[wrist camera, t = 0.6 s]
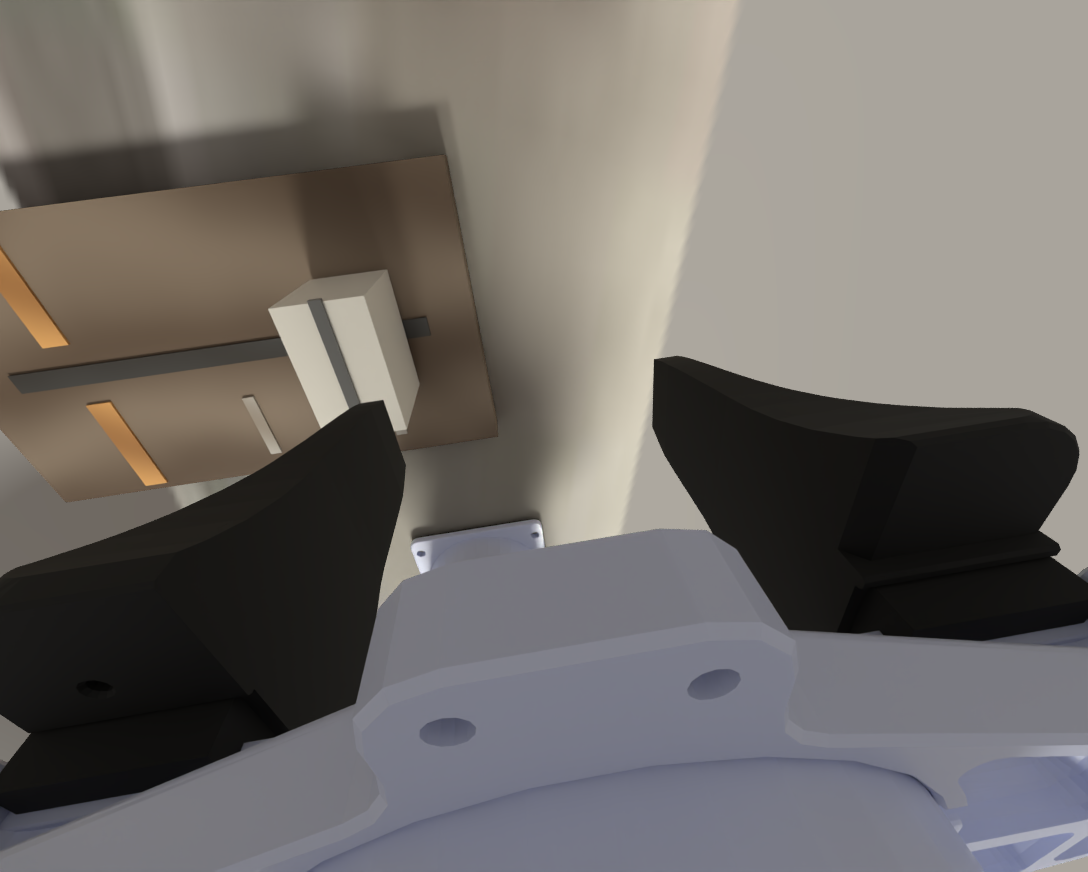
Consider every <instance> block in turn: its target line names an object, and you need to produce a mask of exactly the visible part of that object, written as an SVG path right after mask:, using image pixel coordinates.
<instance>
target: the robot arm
mask: <svg viewBox="0 0 1088 872" xmlns="http://www.w3.org/2000/svg"><path fill="white" fill-rule="evenodd" d="M652 427H653V429H654V432H655V434H656V437H657V439H658V442H659V444H660V446H661V448H662V451H663V453H664V455H665V457H666V458H667V460H668V462H669V463H670V465H671V467H672V468H673V470H674V471H675V473H676V474H677V476H678V478H679V479H680V481H681V482H682V484H683V486H684V487H685V489H686V490H687V492H688V493H689V495H690V496H691V498H692V499H693V501H694V503H695V504H696V505H697V507H698V509H699V511H700V512H701V514H702V515H703V517H704V519H705V520H706V522H707V524H708V525H709V528H710V529H711V531H712V533H713V534H712V533H710V532H708V531H707V530H681V529H654V530H648V531H642V532H636V533H630V534H623V535H617V536H611V537H605V538H599V539H593V540H587V541H581V542H575V543H569V544H563V545H557V546H550V547H545V544H544V538H543V531H542V524H541V522H540V521H539V520H536V519H532V520H526V521H520V522H513V523H507V524H501V525H495V526H489V527H482V528H476V529H470V530H464V531H457V532H451V533H445V534H439V535H433V536H426V537H420V538H416V539H414V540H413V541H412V542H411V550H412V553H413V556H414V558H415V561H416V564H417V566H418V569H419V571H420V574H419V575H417V576H414V577H411V578H408V579H406V580H403V581H402V582H401V583H400V585H399V586H398V587H397V588H396V589H395V590H394V591H393V593H392V594H391V595H390V596H389V597H388V598H387V599H386V601H385V602H384V603H383V604H382V605H381V606H380V608H379V609H378V612H377V608H378V601H379V593H380V586H381V581H382V576H383V571H384V567H385V563H386V559H387V555H388V552H389V548H390V544H391V540H392V537H393V533H394V529H395V525H396V522H397V518H398V514H399V510H400V506H401V502H402V498H403V490H404V480H405V467H406V465H405V462H404V459H403V456H402V453H401V450H400V447H399V444H398V441H397V438H396V435H395V432H394V429H393V426H392V424H391V421H390V418H389V415H388V412H387V409H386V406H385V403H384V400H379V401H372V402H366V403H359V404H357V405H355V406H353V407H351V408H350V409H348V410H347V411H345V412H344V413H342V414H341V415H339V416H338V417H336V418H335V419H334V420H332V421H331V422H329V423H328V424H327V425H325V426H324V427H323V428H321V429H320V430H318V431H317V432H316V433H314V434H313V435H311V436H310V437H309V438H307V439H306V440H304V441H303V442H301V443H300V444H298V445H297V446H295V447H294V448H292V449H291V450H289V451H288V452H286V453H285V454H283V455H282V456H280V457H279V458H277V459H276V460H274V461H273V462H271V463H270V464H268V465H266V466H265V467H263V468H261V469H260V470H258V471H256V472H255V473H253V474H251V475H249V476H247V477H246V478H244V479H242V480H240V481H238V482H236V483H235V484H233V485H231V486H229V487H227V488H225V489H223V490H221V491H219V492H217V493H215V494H212V495H210V496H208V497H206V498H204V499H202V500H200V501H198V502H195V503H193V504H191V505H189V506H187V507H185V508H183V509H180V510H178V511H176V512H174V513H171V514H169V515H166V516H164V517H161V518H159V519H157V520H154V521H152V522H149V523H147V524H144V525H142V526H139V527H136V528H134V529H131V530H128V531H126V532H123V533H121V534H118V535H115V536H112V537H109V538H107V539H104V540H101V541H98V542H95V543H92V544H89V545H86V546H83V547H80V548H77V549H74V550H71V551H68V552H65V553H61V554H58V555H55V556H52V557H49V558H46V559H43V560H40V561H37V562H34V563H30V564H27V565H24V566H20V567H17V568H15V569H13V570H11V571H9V572H7V573H6V574H4V575H3V576H2V577H1V578H0V714H1V715H2V716H4V717H5V718H7V719H8V720H9V721H11V722H12V723H14V724H15V725H17V726H18V727H20V728H22V729H23V730H25V731H26V732H28V733H31V734H30V735H29V737H28V738H27V739H26V740H25V742H24V743H23V744H22V745H21V747H20V748H19V749H18V751H17V752H16V753H15V754H14V756H13V757H12V758H11V759H10V761H9V762H5V761H3V760H0V872H1032V871H1036V870H1040V869H1043V868H1047V867H1050V866H1054V865H1058V864H1061V863H1065V862H1069V861H1072V860H1076V859H1080V858H1083V857H1087V856H1088V567H1087V568H1085V569H1083V570H1082V571H1081V572H1080V573H1079V574H1078V575H1076V574H1074V573H1073V572H1072V571H1070V570H1069V569H1067V568H1066V567H1064V566H1063V565H1061V564H1060V563H1059V562H1057V561H1056V560H1055V559H1053V558H1052V557H1050V556H1056V555H1057V554H1058V553H1059V551H1060V550H1061V549H1060V546H1059V544H1058V543H1057V542H1055V541H1054V540H1052V539H1051V538H1049V537H1048V536H1046V535H1045V534H1043V533H1042V532H1040V531H1039V529H1040V527H1041V526H1042V524H1043V523H1044V521H1045V520H1046V518H1047V517H1048V515H1049V514H1050V512H1051V511H1052V509H1053V508H1054V506H1055V505H1056V503H1057V502H1058V500H1059V499H1060V497H1061V496H1062V494H1063V493H1064V491H1065V490H1066V488H1067V487H1068V485H1069V483H1070V481H1071V479H1072V477H1073V475H1074V473H1075V472H1076V469H1077V464H1078V458H1079V447H1078V444H1077V440H1076V436H1075V435H1074V434H1073V433H1072V432H1071V431H1070V430H1068V429H1067V428H1066V427H1065V426H1063V425H1061V424H1059V423H1057V422H1054V421H1052V420H1050V419H1048V418H1045V417H1043V416H1041V415H1039V414H1037V413H1035V412H1033V411H1030V410H1026V409H1021V408H937V407H920V406H919V407H918V406H901V405H890V404H877V403H869V402H861V401H854V400H846V399H838V398H832V397H825V396H820V395H815V394H810V393H805V392H800V391H795V390H791V389H786V388H783V387H779V386H775V385H771V384H768V383H764V382H760V381H757V380H754V379H751V378H747V377H744V376H741V375H738V374H735V373H732V372H729V371H726V370H723V369H720V368H717V367H714V366H711V365H709V364H705V363H702V362H699V361H696V360H693V359H690V358H686V357H681V356H673V357H667V358H660V359H654V381H653V422H652ZM534 532H537V533H536V534H532V533H534ZM420 551H424V552H420ZM376 615H377V616H376Z"/></svg>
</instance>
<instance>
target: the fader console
mask: <svg viewBox="0 0 1088 872" xmlns="http://www.w3.org/2000/svg"><path fill="white" fill-rule="evenodd" d="M385 269H387V271H388V274H389V278H390V281H391V285H392V288H393V292H394V295H395V299H396V302H397V306H398V309H399V313H400V316H401V320H402V323H403V327H404V330H405V334H406V338H407V341H408V345H409V348H410V352H411V355H412V359H413V362H414V366H415V369H416V373H417V376H418V380H419V383H420V385H419V388H418V392H417V395H416V399H415V402H414V406H413V410H412V413H411V417H410V420H409V424H408V427H407V429H406V430H399V431H394V432H395V435H396V438H397V441H398V444H399V447H400V450H401V451H406V450H413V449H419V448H426V447H432V446H439V445H446V444H452V443H459V442H465V441H472V440H478V439H485V438H491V437H498V426H497V418H496V412H495V407H494V402H493V397H492V391H491V386H490V381H489V376H488V370H487V365H486V360H485V355H484V350H483V344H482V339H481V334H480V329H479V323H478V318H477V313H476V308H475V302H474V297H473V292H472V287H471V281H470V276H469V271H468V266H467V261H466V255H465V250H464V245H463V240H462V234H461V229H460V224H459V219H458V213H457V208H456V203H455V198H454V193H453V187H452V182H451V177H450V172H449V166H448V161H447V156H446V155H436V156H428V157H421V158H413V159H405V160H397V161H389V162H381V163H373V164H366V165H358V166H350V167H342V168H334V169H326V170H319V171H311V172H303V173H295V174H287V175H279V176H271V177H264V178H256V179H248V180H240V181H232V182H224V183H216V184H209V185H201V186H193V187H185V188H177V189H169V190H161V191H154V192H146V193H138V194H130V195H122V196H114V197H106V198H99V199H91V200H83V201H75V202H67V203H59V204H51V205H44V206H36V207H28V208H20V209H12V210H4V211H0V430H1V431H2V432H3V433H4V434H5V435H6V436H7V437H8V438H9V439H10V441H12V443H13V444H14V445H15V446H16V447H17V448H18V450H20V452H21V453H22V454H23V455H24V456H25V457H26V458H27V460H28V461H30V463H31V464H32V465H33V466H34V467H35V469H36V470H37V471H38V472H39V473H40V474H41V475H42V476H43V477H44V478H45V479H46V481H47V482H48V483H49V484H50V485H51V486H52V487H53V488H54V490H55V491H56V492H57V493H58V494H59V495H60V496H61V497H62V498H63V500H64V501H65V502H72V501H79V500H86V499H92V498H99V497H105V496H111V495H118V494H124V493H131V492H138V491H144V490H151V489H157V488H164V487H171V486H177V485H184V484H190V483H197V482H203V481H210V480H216V479H223V478H230V477H236V476H243V475H249V474H253V473H255V472H256V471H258V470H260V469H261V468H263V467H265V466H266V465H268V464H270V463H271V462H273V461H274V460H276V459H277V458H279V457H280V456H282V455H283V454H285V453H286V452H288V451H289V450H291V449H292V448H294V447H295V446H297V445H298V444H300V443H301V442H303V441H304V440H306V439H307V438H309V437H310V436H311V435H313V434H314V433H316V432H317V431H318V430H320V429H321V428H320V425H319V423H318V421H317V419H316V416H315V414H314V412H313V410H312V407H311V405H310V403H309V401H308V398H307V396H306V394H305V391H304V389H303V387H302V385H301V382H300V380H299V378H298V376H297V373H296V371H295V369H294V367H293V364H292V362H291V360H290V358H289V355H288V353H287V351H286V349H285V346H284V344H283V342H282V340H281V337H280V335H279V333H278V331H277V328H276V326H275V324H274V322H273V319H272V317H271V315H270V312H269V310H268V309H269V308H270V307H271V306H273V305H274V304H276V303H277V302H279V301H280V300H282V299H283V298H284V297H286V296H287V295H289V294H290V293H292V292H293V291H294V290H296V289H297V288H299V287H300V286H302V285H303V284H305V283H306V282H307V281H309V280H312V279H319V278H327V277H334V276H341V275H348V274H356V273H363V272H370V271H378V270H385Z"/></svg>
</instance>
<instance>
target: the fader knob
mask: <svg viewBox="0 0 1088 872" xmlns="http://www.w3.org/2000/svg"><path fill="white" fill-rule="evenodd" d="M268 310H269V312H270V315H271V317H272V319H273V322H274V324H275V326H276V328H277V331H278V333H279V335H280V337H281V340H282V342H283V344H284V346H285V349H286V351H287V353H288V355H289V358H290V360H291V362H292V364H293V367H294V369H295V371H296V373H297V376H298V378H299V380H300V382H301V385H302V387H303V389H304V391H305V394H306V396H307V398H308V401H309V403H310V405H311V407H312V410H313V412H314V414H315V416H316V419H317V421H318V423H319V425H320V428H323V427H324V426H325V425H327V424H328V423H329V422H331V421H332V420H334V419H335V418H336V417H338V416H339V415H341V414H342V413H344V412H345V411H347V410H348V409H350V408H351V407H353V406H355V405H357V404H359V403H366V402H372V401H379V400H384V403H385V406H386V409H387V412H388V415H389V418H390V421H391V424H392V426H393V429H394V431H399V430H406V429H407V427H408V424H409V420H410V417H411V413H412V410H413V406H414V402H415V399H416V395H417V392H418V388H419V385H420V383H419V380H418V376H417V373H416V369H415V366H414V362H413V359H412V355H411V352H410V348H409V345H408V341H407V338H406V334H405V330H404V327H403V323H402V320H401V316H400V313H399V309H398V306H397V302H396V299H395V295H394V292H393V288H392V285H391V281H390V278H389V274H388V271H387V269H385V270H378V271H370V272H363V273H356V274H348V275H341V276H334V277H327V278H319V279H312V280H309V281H307V282H306V283H305V284H303V285H302V286H300V287H299V288H297V289H296V290H294V291H293V292H292V293H290V294H289V295H287V296H286V297H284V298H283V299H282V300H280V301H279V302H277V303H276V304H274V305H273V306H271V307H270V308H269V309H268Z"/></svg>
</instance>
